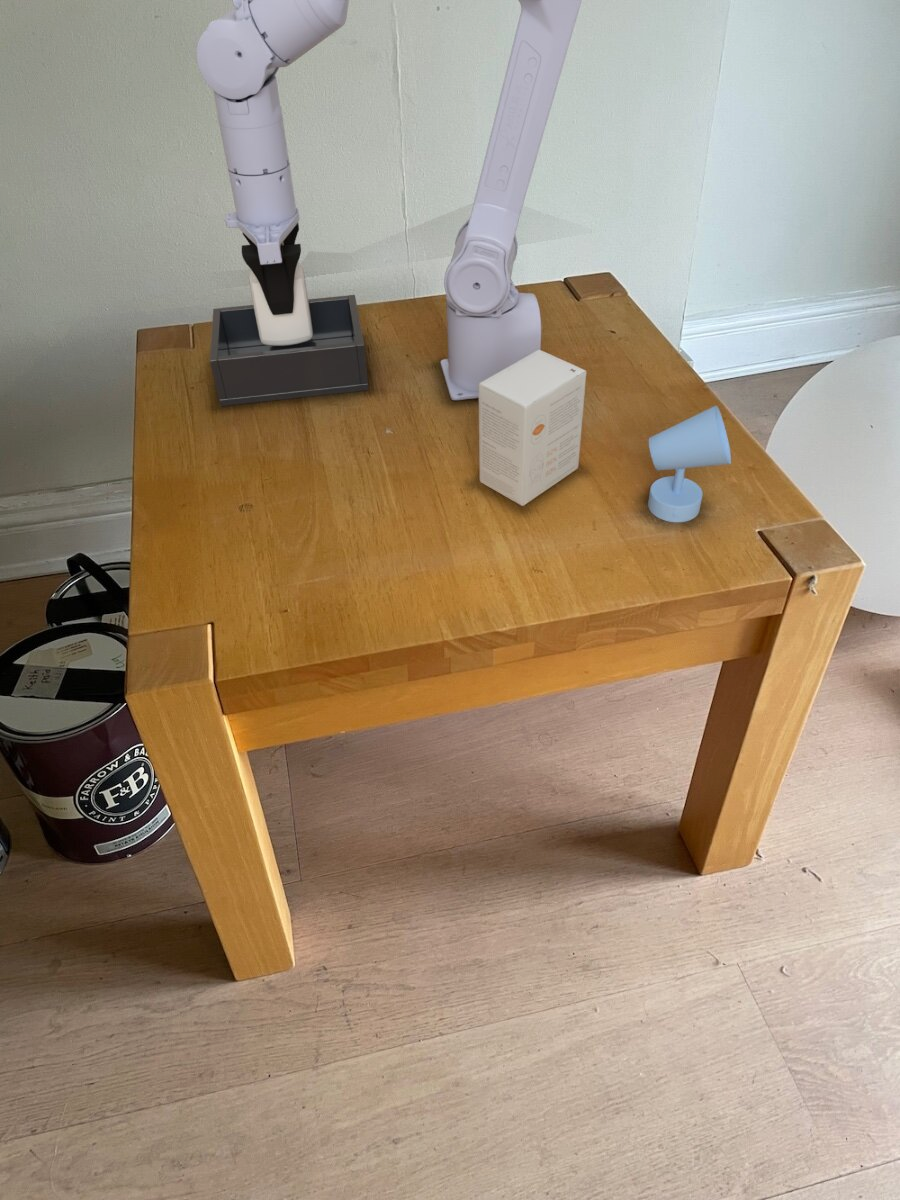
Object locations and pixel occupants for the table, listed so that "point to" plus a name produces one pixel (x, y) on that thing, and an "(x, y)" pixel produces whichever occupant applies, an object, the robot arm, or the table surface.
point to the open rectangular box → (288, 355)
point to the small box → (530, 425)
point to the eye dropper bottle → (284, 325)
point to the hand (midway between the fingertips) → (282, 303)
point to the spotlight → (686, 463)
